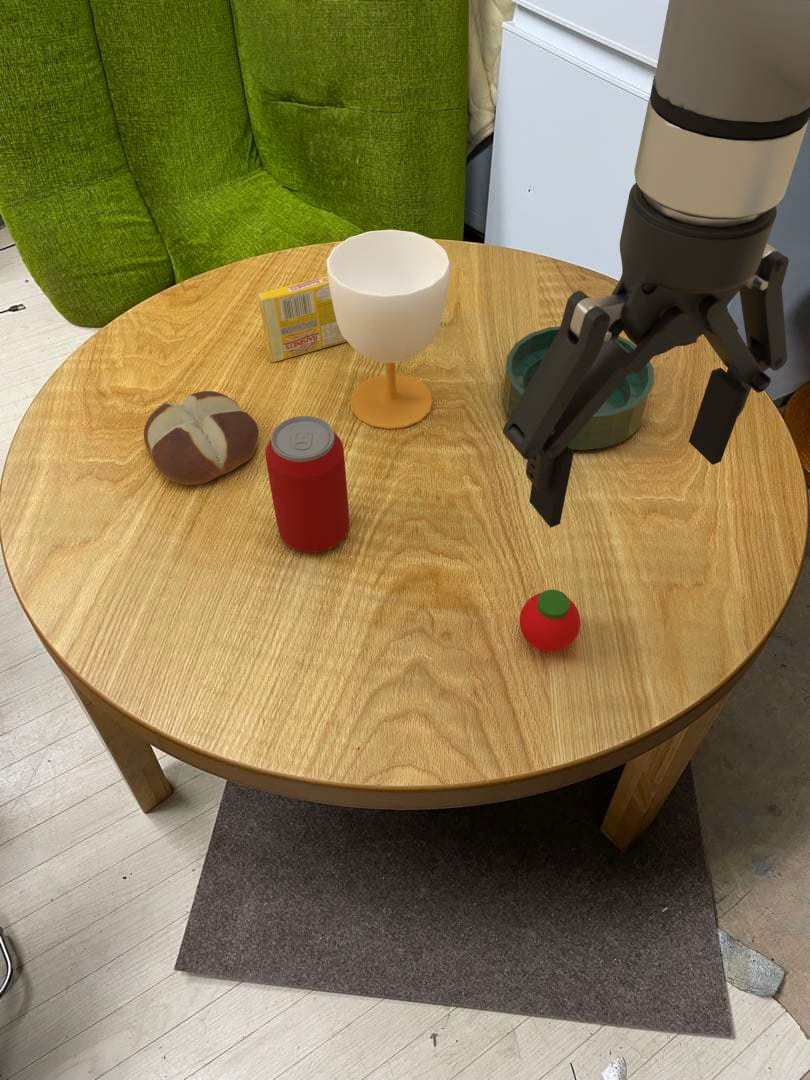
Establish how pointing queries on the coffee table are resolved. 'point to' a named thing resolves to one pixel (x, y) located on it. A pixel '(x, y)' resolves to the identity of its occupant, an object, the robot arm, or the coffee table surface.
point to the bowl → (613, 416)
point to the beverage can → (308, 483)
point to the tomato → (549, 621)
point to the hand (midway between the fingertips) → (626, 481)
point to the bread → (200, 437)
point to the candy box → (299, 319)
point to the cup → (389, 316)
